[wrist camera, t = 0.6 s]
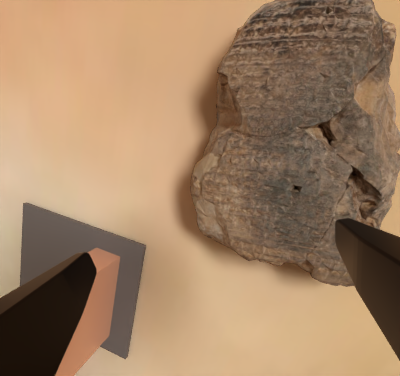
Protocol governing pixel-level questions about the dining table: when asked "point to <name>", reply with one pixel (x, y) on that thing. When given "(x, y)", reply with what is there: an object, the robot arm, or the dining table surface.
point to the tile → (93, 314)
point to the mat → (76, 243)
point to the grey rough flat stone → (301, 134)
